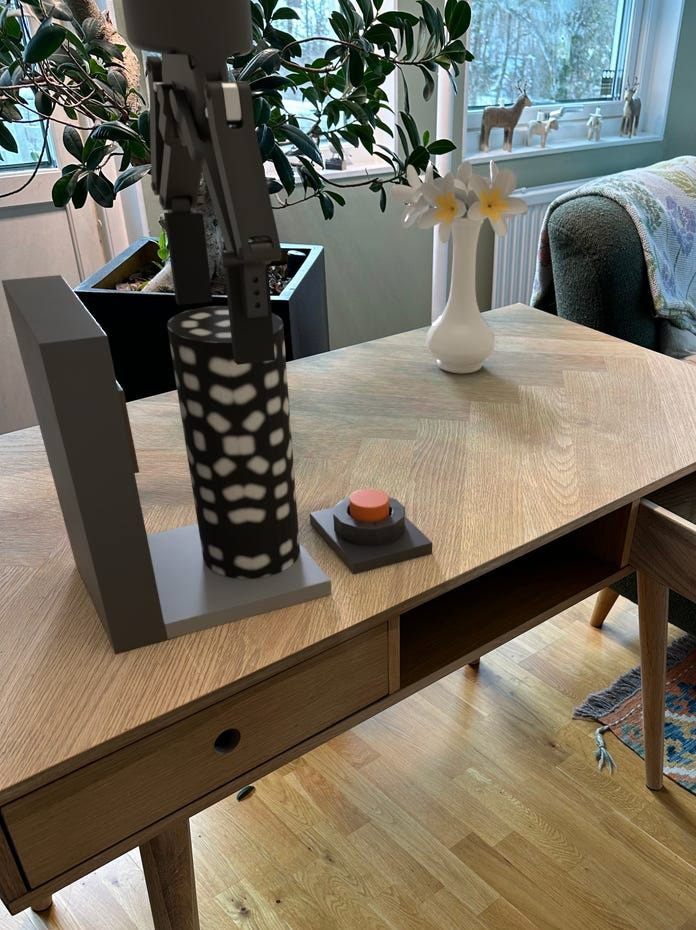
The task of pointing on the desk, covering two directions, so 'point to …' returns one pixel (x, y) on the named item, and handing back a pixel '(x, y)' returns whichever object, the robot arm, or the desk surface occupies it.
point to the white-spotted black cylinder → (236, 446)
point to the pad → (370, 537)
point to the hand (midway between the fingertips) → (222, 329)
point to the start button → (369, 505)
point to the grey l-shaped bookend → (123, 488)
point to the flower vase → (460, 251)
